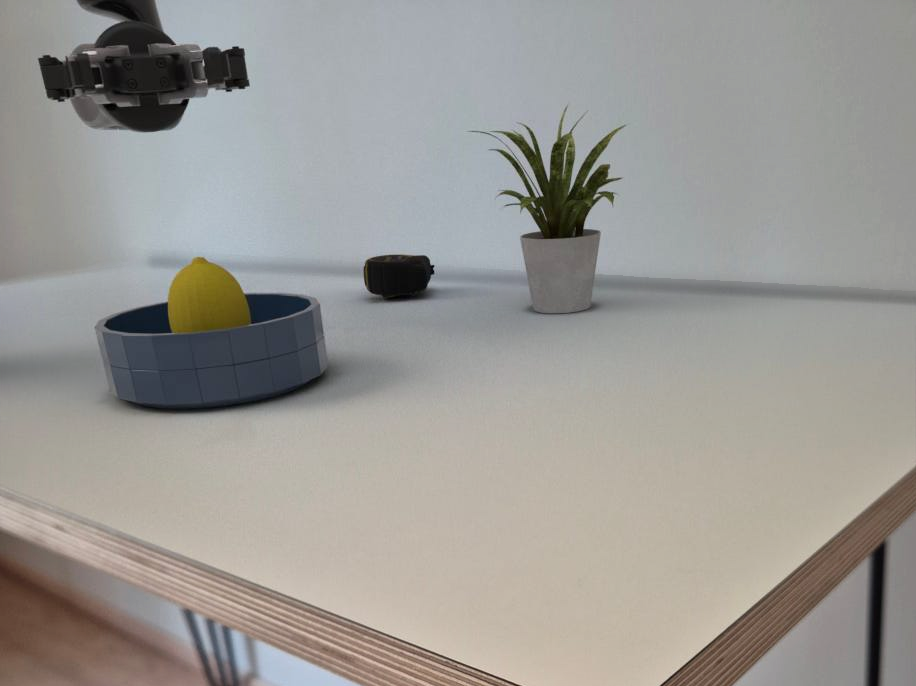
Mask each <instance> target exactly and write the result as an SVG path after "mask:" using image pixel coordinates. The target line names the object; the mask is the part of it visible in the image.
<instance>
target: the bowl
mask: <svg viewBox="0 0 916 686" xmlns="http://www.w3.org/2000/svg"><path fill="white" fill-rule="evenodd" d="M243 293H244V292H243ZM244 295H245V297H246V300H247V303H248V307H249V311H250V316H251V324H250V325H244V326H238V327H232V328H226V329H216V330H207V331H197V332H184V333H172V330H171V327H170V323H169V316H168V300H167V301H161V302H157V303H152V304H147V305H143V306H142V305H141V306H136V307H132V308H129V309H125V310H123V311H119V312H115V313H112V314H110V315H109V316H106V317H103V318H102V319H100V320H97V322H96V324H95V325H94V330H95V331H94V332H95V335H96V340H97V343H98V347H99V351H100V356H101V360H102V363H103V367H104V371H105V375H106V380H107V383H108V388H109V392H110V393H111V394H112V395H114V396H115V397H116V398H117V399H121V400H124V401H128V402H132V403H135V404H137V405H139V406H144V407H147V408H156V409H165V410H166V409H167V410H168V409H169V410H172V409H174V410H190V409H191V410H192V409H206V408H218V407H219V408H220V407H227V406H234V405H241V404H247V403H253V402H257V401H261V400H265V399H266V400H267V399H270V398H274V397H277V396H280V395H283V394H287V393H290V392H293V391H295V390H297V389H300V388H301V387H303V386H305V385H307V384H308V383H310V381H312V380H313V379H315V378H317V377H319V376H321V375H323V373H324V372H325V371H326V370H327V369H328V367H329V361H328V355H327V347H326V340H325V333H324V324H323V317H322V310H321V304H320V302H319V301H318V299H317V298H316V297H312V296H310V295H306V294H302V293H301V294H300V293H289V292H245V293H244Z"/></svg>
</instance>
